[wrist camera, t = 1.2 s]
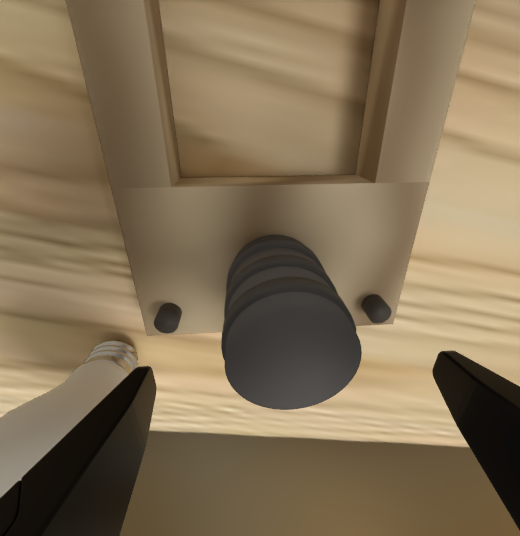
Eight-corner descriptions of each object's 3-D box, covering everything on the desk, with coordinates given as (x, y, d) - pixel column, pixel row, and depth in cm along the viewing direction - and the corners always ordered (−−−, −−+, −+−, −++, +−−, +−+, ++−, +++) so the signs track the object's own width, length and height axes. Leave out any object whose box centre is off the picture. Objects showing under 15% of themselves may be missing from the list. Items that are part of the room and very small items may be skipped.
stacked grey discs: (323, 230, 13) (378, 299, 8) (315, 311, 16) (354, 408, 10) (224, 233, 13) (213, 306, 8) (230, 314, 15) (225, 416, 10)
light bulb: (149, 298, 17) (31, 523, 8) (184, 373, 20) (132, 605, 11) (46, 320, 18) (-198, 566, 8) (96, 391, 21) (-35, 633, 11)
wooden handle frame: (446, -36, 11) (548, -116, 8) (375, 300, 18) (409, 345, 15) (84, -44, 10) (-2, -137, 7) (158, 310, 18) (136, 359, 14)
